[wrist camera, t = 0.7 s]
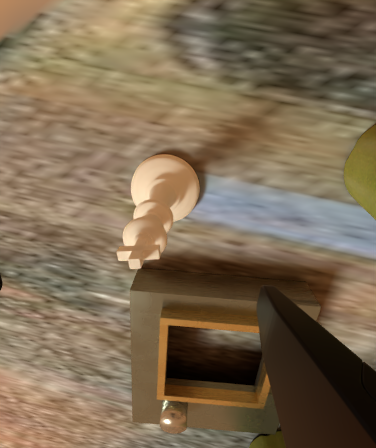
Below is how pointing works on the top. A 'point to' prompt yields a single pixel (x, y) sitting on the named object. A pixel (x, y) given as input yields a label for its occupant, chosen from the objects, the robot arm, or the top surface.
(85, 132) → the top surface
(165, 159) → the chess piece
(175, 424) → the grey hollow block
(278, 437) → the plant pot
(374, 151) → the plant pot
